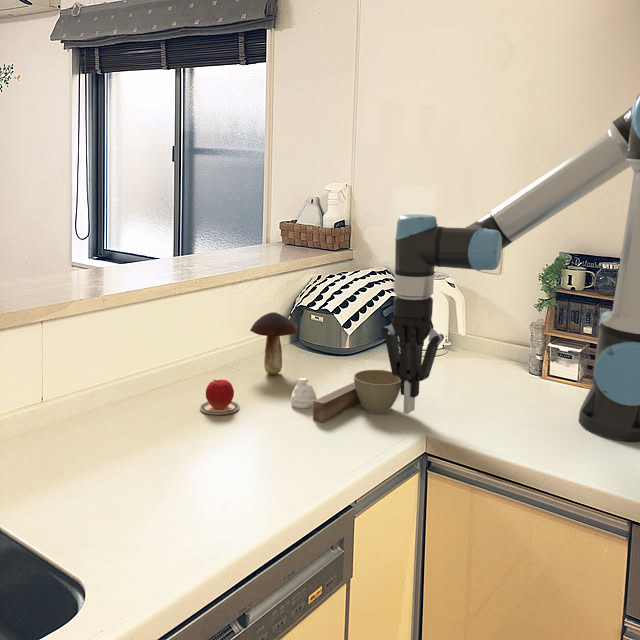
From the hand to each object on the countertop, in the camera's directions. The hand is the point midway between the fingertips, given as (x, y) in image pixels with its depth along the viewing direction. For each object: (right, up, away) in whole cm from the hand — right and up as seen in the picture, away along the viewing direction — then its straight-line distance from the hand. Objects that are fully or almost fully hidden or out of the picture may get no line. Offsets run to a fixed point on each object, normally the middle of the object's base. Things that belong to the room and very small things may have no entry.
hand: (408, 411), depth 142 cm
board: (-11, +1, +8) cm, 13 cm away
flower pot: (-6, 0, +5) cm, 8 cm away
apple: (-38, 0, +3) cm, 39 cm away
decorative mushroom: (-29, +5, +26) cm, 39 cm away
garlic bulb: (-21, 0, +6) cm, 22 cm away
